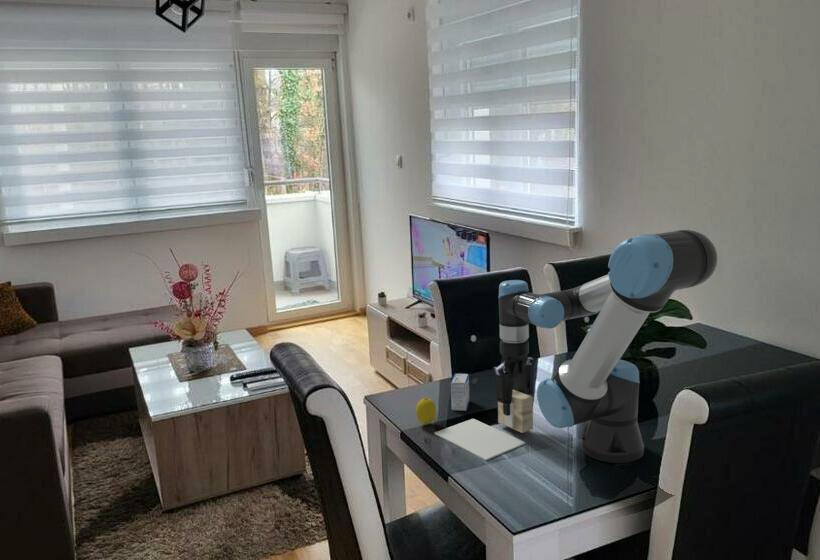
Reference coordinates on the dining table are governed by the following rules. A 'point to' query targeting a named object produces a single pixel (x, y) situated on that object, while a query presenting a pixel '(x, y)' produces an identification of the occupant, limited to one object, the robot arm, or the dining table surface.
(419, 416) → the lemon
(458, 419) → the dining table surface
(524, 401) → the slab
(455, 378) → the medicine box
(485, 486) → the dining table surface
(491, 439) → the placemat
